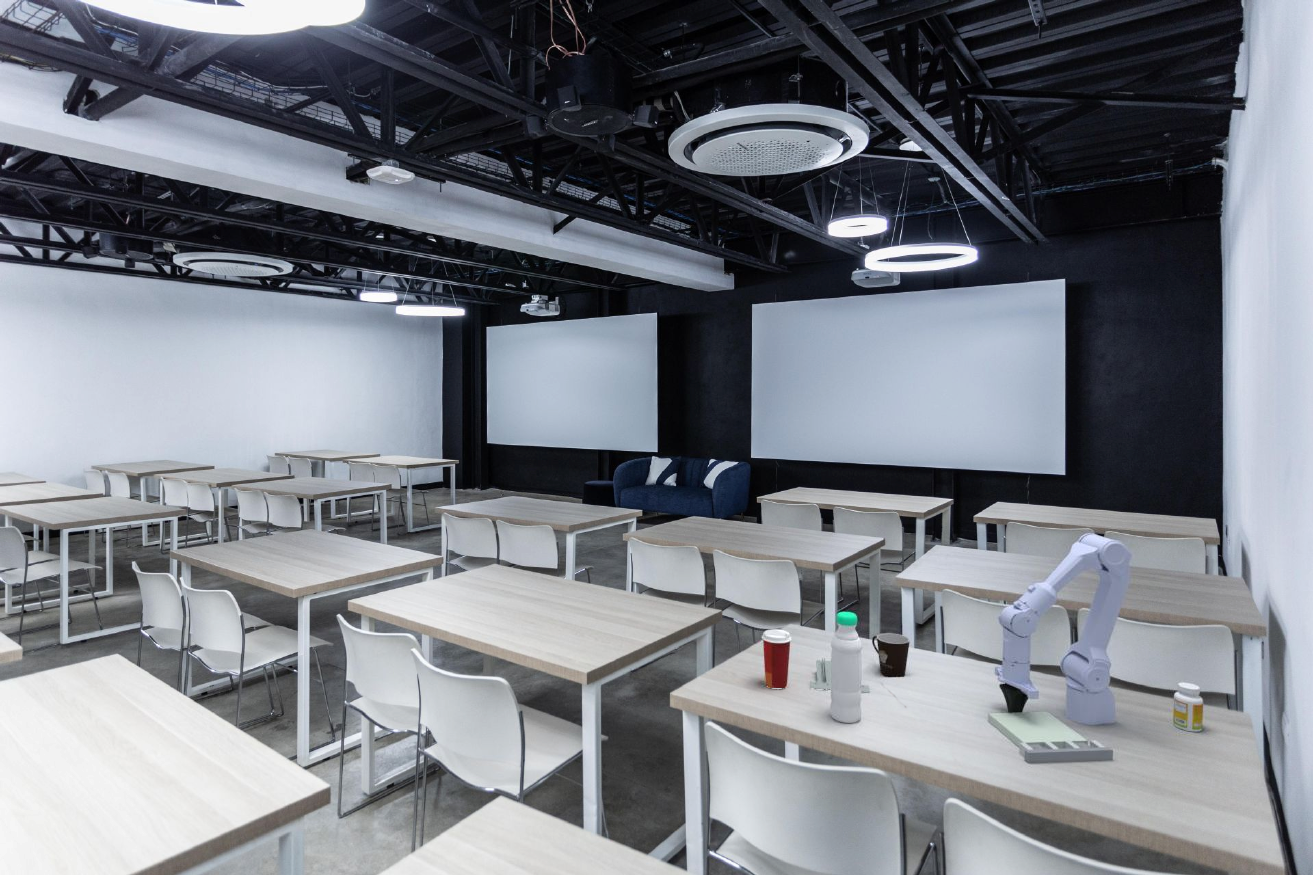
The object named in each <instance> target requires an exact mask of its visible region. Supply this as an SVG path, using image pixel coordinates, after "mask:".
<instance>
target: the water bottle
mask: <svg viewBox="0 0 1313 875" xmlns="http://www.w3.org/2000/svg"><path fill="white" fill-rule="evenodd" d="M836 624H837V626H838V627H837V630H836V631H835V633H834V635H833V637H832V639H831V641H830V646H831V655H830V656H831V658H830V661H831V684H832V687H831V691H830V699H831V700H830V708H829V711H830V716H831V718H833V719H834V720H836V721H837V722H839V723H844V724H853V723H857V722H859V721H860V720H861V718H862V707H861V702H862V693H861V689H860V688H861V685H862V664H863V661H862V649H863V644H862V641H861V639H860V636H859V634H858V632H857V631H856V627H857V624H858V616H857V614H856V613H854V612H851V611H840V612H838V613H837V614H836Z"/></svg>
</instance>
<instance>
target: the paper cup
mask: <svg viewBox="0 0 1313 875" xmlns="http://www.w3.org/2000/svg"><path fill="white" fill-rule="evenodd" d="M761 639H762V642H763V643H762V644H763V646H762V647H763V661H764V679H765V686H766V687H767V686H768V687H770V688H769V689H771V688H784V689H786V688H787V687H788V676H789V662H790V652H791V651H790V650H791V649H790V648H791V641H792V636H791V634H790V632H789V631H786V630H783V629H778V628H777V629H776V628H775V629H774V628H773V629H767V630H764V632H763V633H762V635H761ZM786 686H787V687H786ZM768 687H767V688H768ZM785 687H786V688H785Z"/></svg>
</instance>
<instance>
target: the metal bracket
mask: <svg viewBox="0 0 1313 875" xmlns="http://www.w3.org/2000/svg"><path fill="white" fill-rule="evenodd" d="M821 659H822V660H816V661H815V662H816V664H815V665H816V679H817V680H816V681H809V689H810V688H814V689H827V690H826V691H828V690H831V687H832V684H831V660H826V658H823V657H822V658H821ZM860 689H861V694H866V693H869V694H870V693H871V691H870V686H869V685H867V684H861V688H860Z"/></svg>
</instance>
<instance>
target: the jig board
mask: <svg viewBox="0 0 1313 875" xmlns="http://www.w3.org/2000/svg"><path fill="white" fill-rule="evenodd" d="M1089 746H1094V747H1095V748H1080V747H1078V746H1077V745H1076V744H1074V743H1073V742H1072V741H1066V744H1065V749H1059V748H1057V747H1056V746H1055V745H1053V744H1052V743H1051V742H1044V747H1047V748H1048V749H1039V750H1034V749H1032V748H1031V747H1030V746H1029V745H1027V744H1026V743H1020V747H1019V752H1018V753H1019V754H1020V755H1021V756H1022V757H1024V761H1025V762H1026V763H1027V764H1041V763H1043V764H1045V763H1047V764H1048V763H1068V762H1069V763H1071V762H1073V763H1076V762H1101V761H1113V760H1114V750H1113V749H1112V748H1111V747H1108V746H1105V745H1103V744H1101V743H1100V742H1099V741H1097V740H1095V739H1094V740H1090V741H1089Z"/></svg>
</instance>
